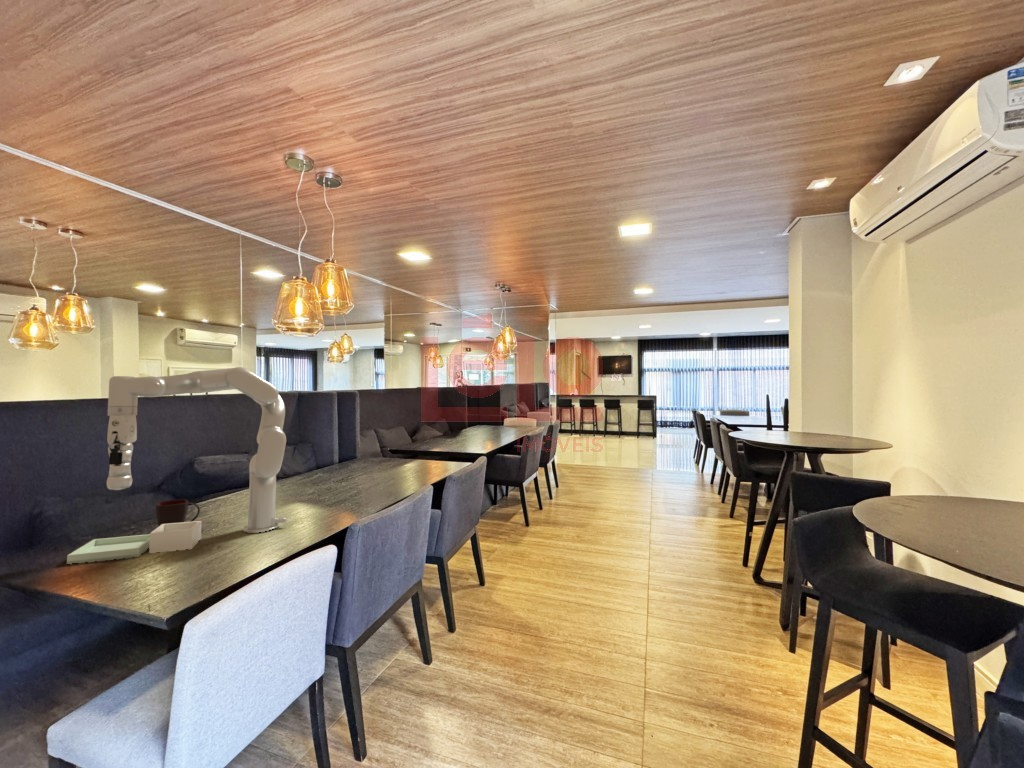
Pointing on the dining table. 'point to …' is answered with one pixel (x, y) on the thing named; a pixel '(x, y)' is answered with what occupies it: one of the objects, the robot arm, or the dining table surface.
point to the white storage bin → (175, 536)
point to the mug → (173, 511)
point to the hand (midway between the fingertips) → (120, 462)
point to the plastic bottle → (121, 470)
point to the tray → (110, 549)
